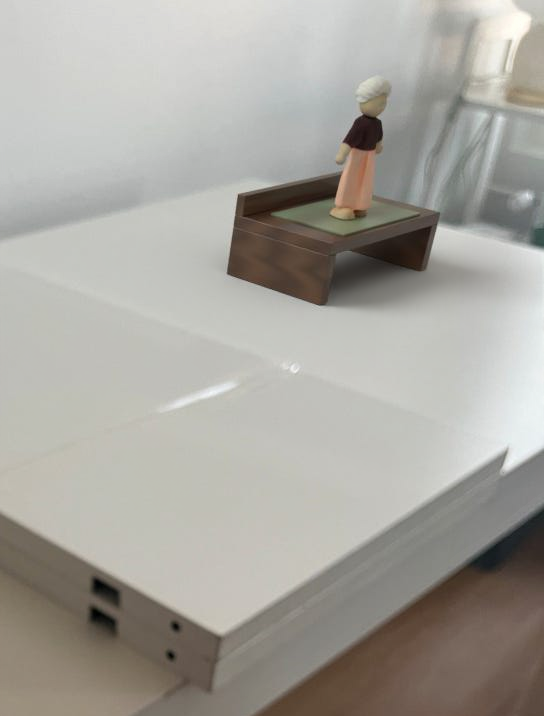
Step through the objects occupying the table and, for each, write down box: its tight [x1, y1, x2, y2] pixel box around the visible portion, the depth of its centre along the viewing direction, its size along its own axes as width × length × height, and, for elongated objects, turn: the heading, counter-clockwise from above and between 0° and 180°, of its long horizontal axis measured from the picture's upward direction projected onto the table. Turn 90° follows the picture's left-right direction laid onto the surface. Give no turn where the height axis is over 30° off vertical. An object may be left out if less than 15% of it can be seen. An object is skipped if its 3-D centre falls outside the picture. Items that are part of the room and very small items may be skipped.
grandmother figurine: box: [330, 75, 393, 220], centre depth 103 cm, size 8×4×13 cm, turn 147°
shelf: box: [226, 170, 441, 306], centre depth 109 cm, size 12×20×8 cm, turn 133°
